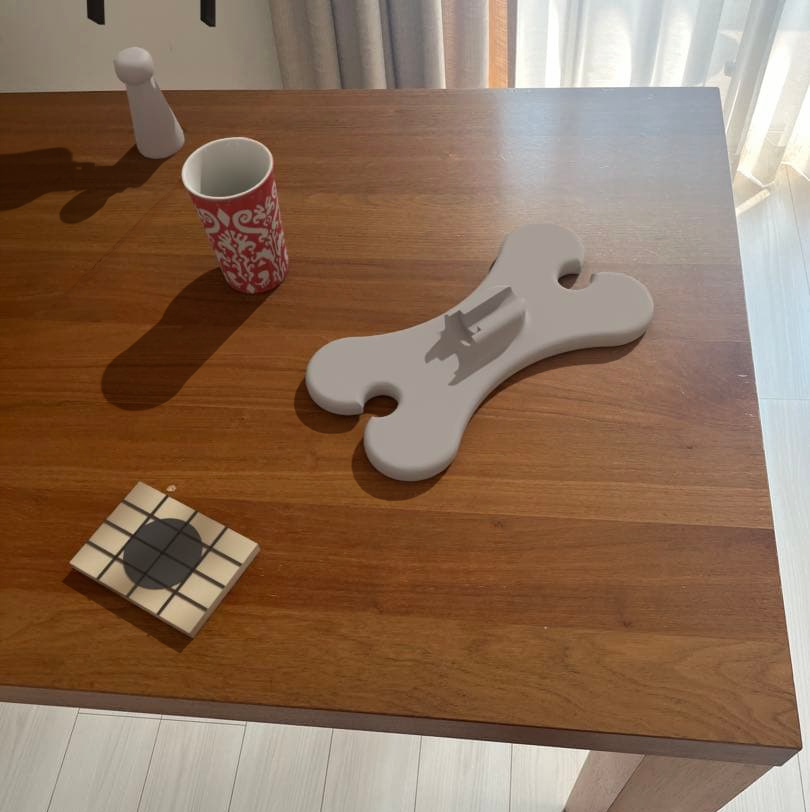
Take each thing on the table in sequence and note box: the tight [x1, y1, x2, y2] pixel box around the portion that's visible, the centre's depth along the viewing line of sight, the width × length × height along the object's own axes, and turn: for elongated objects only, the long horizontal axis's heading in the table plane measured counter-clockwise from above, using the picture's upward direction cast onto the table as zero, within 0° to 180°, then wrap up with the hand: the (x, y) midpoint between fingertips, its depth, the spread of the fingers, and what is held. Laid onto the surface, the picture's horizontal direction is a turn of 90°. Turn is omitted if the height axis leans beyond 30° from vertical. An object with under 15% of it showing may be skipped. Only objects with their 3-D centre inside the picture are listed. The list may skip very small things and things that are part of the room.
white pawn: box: [112, 46, 186, 160], centre depth 103 cm, size 6×6×13 cm
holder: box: [304, 221, 655, 482], centre depth 87 cm, size 19×34×5 cm, turn 127°
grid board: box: [68, 481, 261, 639], centre depth 80 cm, size 14×10×1 cm
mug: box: [180, 136, 290, 295], centre depth 93 cm, size 13×9×14 cm
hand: (151, 23), depth 101 cm, fingers open, 13 cm apart
